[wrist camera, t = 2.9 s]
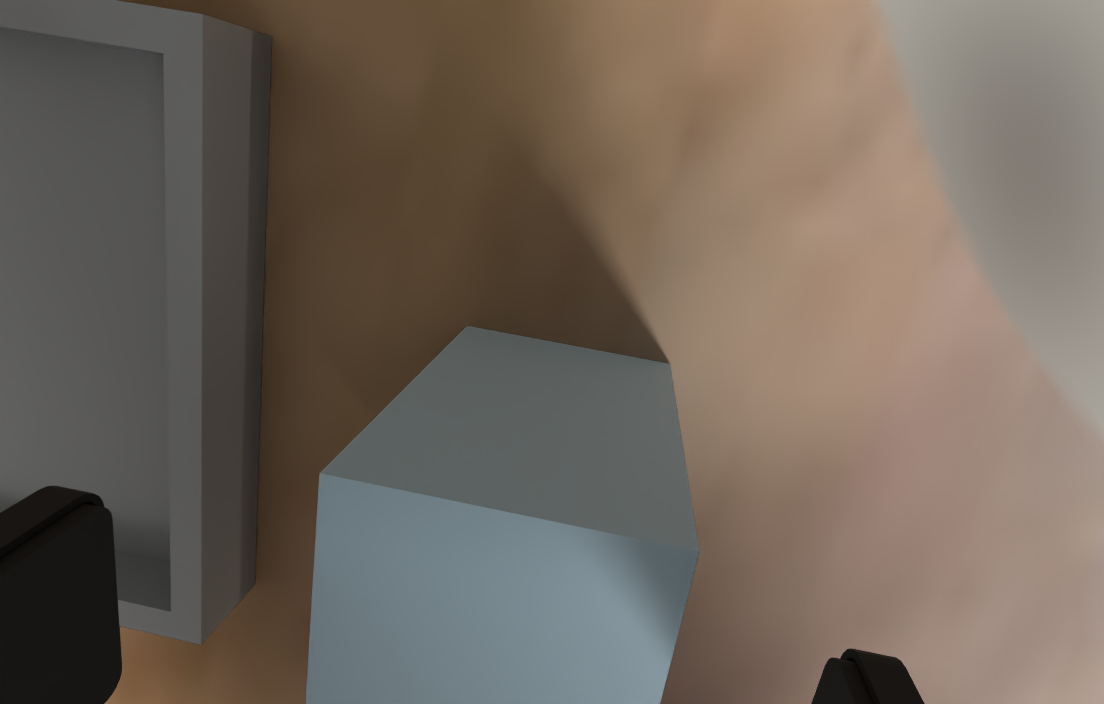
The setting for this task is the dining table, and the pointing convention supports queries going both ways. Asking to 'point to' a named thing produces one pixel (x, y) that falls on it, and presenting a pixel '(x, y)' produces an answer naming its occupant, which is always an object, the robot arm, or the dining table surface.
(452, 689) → the slate block
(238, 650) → the dining table surface
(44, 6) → the tray
